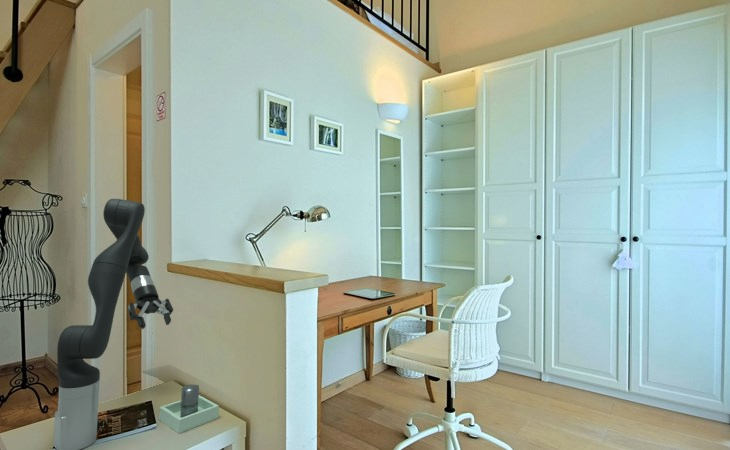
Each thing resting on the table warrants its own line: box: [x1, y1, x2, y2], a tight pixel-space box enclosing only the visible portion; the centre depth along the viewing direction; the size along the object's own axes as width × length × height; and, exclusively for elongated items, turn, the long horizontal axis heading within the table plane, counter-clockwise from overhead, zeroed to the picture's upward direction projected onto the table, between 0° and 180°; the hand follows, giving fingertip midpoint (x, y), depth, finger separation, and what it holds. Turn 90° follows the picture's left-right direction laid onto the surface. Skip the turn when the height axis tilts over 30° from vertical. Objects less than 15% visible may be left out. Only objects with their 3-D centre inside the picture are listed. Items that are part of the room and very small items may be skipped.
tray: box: [158, 394, 220, 434], centre depth 123 cm, size 13×13×4 cm
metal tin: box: [180, 384, 200, 418], centre depth 123 cm, size 5×5×9 cm
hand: (156, 325), depth 136 cm, fingers open, 8 cm apart
